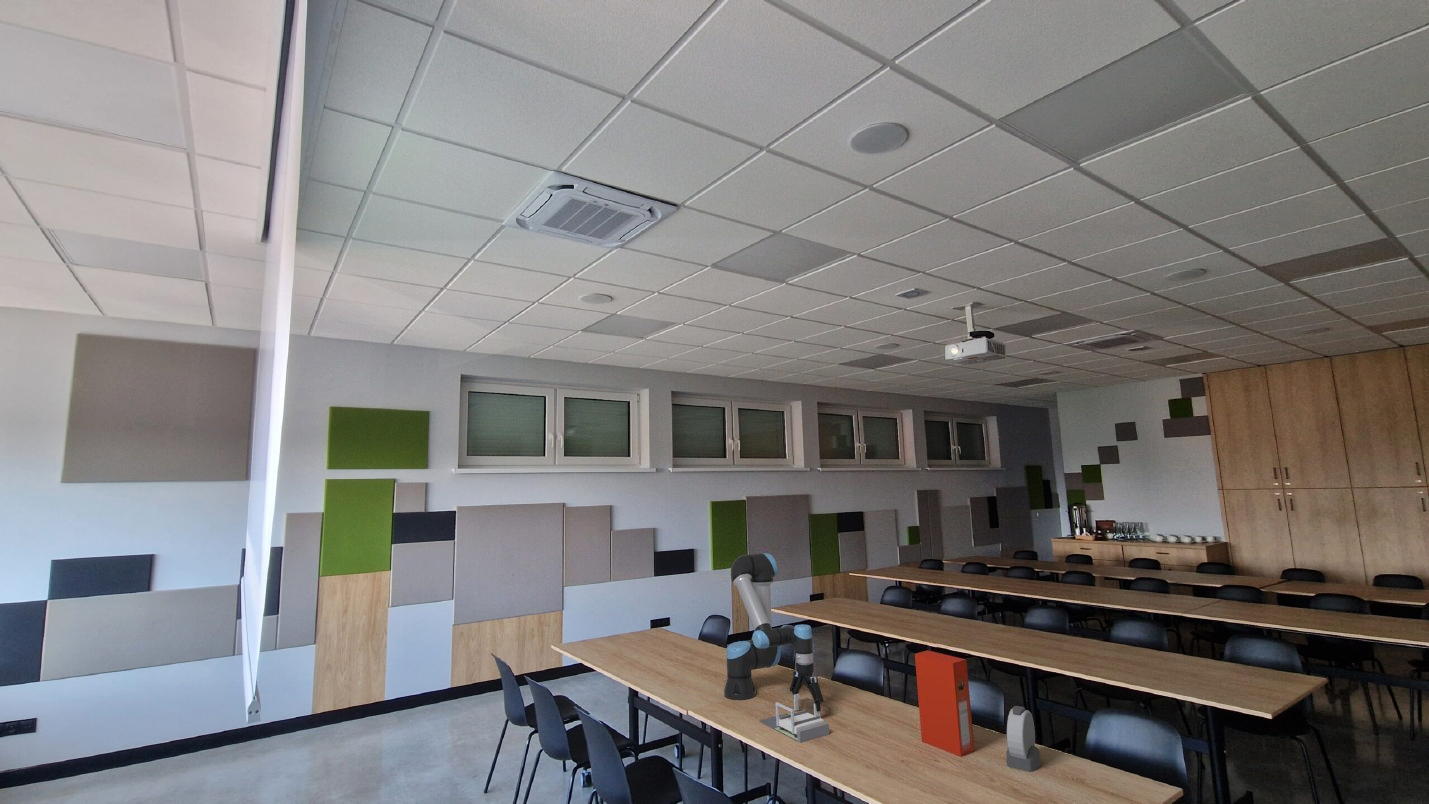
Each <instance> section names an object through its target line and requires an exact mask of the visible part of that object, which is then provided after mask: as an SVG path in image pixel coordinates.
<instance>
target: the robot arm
mask: <svg viewBox="0 0 1429 804" xmlns="http://www.w3.org/2000/svg"><path fill="white" fill-rule="evenodd" d="M730 568H731V569H730V579H731V582H732V584H733V586H734V587H735V588H737V591H738V593H739V597H740V598H741V601H742V603H743V606H744V608H745V611H746V613H747V615H748V617H749V620H750V623H751V625H752V628H753V630H754V631H753V634H752V637H751V642H750V641H747V640H742V641H741V640H739V641H735V642H731V643H730V644H728V645H727V647H726V655H725V656H726V673H727V674H726V681H725V686H724V690H723V695H724V697H725V698H727V699H730V700H736V701H737V700H738V701H740V700H744V701H745V700H749V699H752V698H754V697H756V695H757V690H756V686H755V684H754V680H753V678H752V677H753V675H752V671H753V670H754V671H755V670H759V669H761V670H762V669H765V668H766V669H768V668H769V669H770V668H771V667H775V666H778V664H779V663H780V659H781V657H782V655H781V654H782V653H781V652H782V651H781V647H782V646H788V645H792V646H794V649H795V650H794V652H795V662H796V664H795V668H796V669H795V670H794V671H793V672H792V673H793V674H792V675H793V676H792V678H791V679H792V680H791V683H790V686H789V691H790V692H791V693H792V696H793V698H792V699H793V710H794V712H796V711H797V712H798V711H799V709H798V700H799V699H801V698H800V697H801V696H800V695H801V694H800V690H801V689H802V686H804V687H806V688H807V689H808V691H809V693H810V694H811V697H812V700H814V701H815V702H814V716H816V717H817V716H820V718H821V719H822V717H821V716H822V715H821V711H822V708H821V703H824V702H825V700H824V699H825V698H824V695H823V693H822V690H821V687H820V685H819V679H818V676H815V677H813V673H814V672H815V669H814V663H813V662H814V651H813V633H812V627H811V625H809V624H796V625H791V624H790V625H789V624H784V625H782V626H781V627H775V628H773V622H772V598H771V596H772V595H771V594H772V593H771V585H772V583H773V582H774V578H775V577H776V576H777V574H778V563H777V561H776V559H775V558H774V556H773V555H772V554H770V553H763V552H761V553H760V552H759V553H752V554H751V553H750V554H742V555H739V556H738V557H737V558H735V559H734V561H733V563H732V565H731V567H730ZM780 646H781V647H780Z"/></svg>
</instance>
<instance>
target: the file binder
mask: <svg viewBox="0 0 1429 804" xmlns="http://www.w3.org/2000/svg"><path fill="white" fill-rule="evenodd" d="M914 659H915V671H916V672H915V674H916V684H917V685H916V686H917V698H918V699H917V700H918V709H919V711H918V712H919V723H920V725H919V726H920V736H921V742H922V743H924V744H928V745H930V746H933V747H936V748H937V749H940V750H943V751H945V752H948V753H950V754H953V755H955V756H958V757H960V758H962V757H964V756H967V755H969V754H971V753H973V752H975V743H974V742H975V741H974V729H973V719H972V709H971V696H970V686H969V685H970V684H969V674H968V664H967V663H968V661H967V659H965V658H961V657H957V656H953V655H949V654H944V653H941V652H936V651H934V650H933V651H932V650H929V649H928V650H924V651H920V652H917V653H916V652H915V653H914Z"/></svg>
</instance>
